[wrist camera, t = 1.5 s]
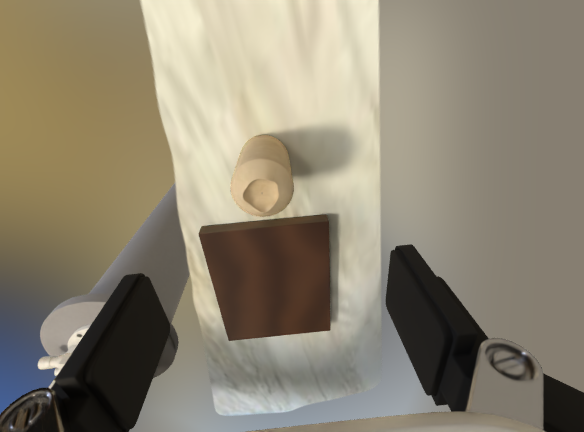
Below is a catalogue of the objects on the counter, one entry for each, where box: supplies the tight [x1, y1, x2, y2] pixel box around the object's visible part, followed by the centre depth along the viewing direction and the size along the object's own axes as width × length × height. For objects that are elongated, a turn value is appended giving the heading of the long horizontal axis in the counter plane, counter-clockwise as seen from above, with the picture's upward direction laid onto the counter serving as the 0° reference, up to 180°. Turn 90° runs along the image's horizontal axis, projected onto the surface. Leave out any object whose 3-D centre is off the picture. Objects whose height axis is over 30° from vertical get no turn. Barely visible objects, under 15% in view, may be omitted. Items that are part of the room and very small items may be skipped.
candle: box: [231, 135, 294, 217], centre depth 28 cm, size 6×6×10 cm
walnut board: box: [199, 214, 330, 341], centre depth 40 cm, size 16×20×2 cm
